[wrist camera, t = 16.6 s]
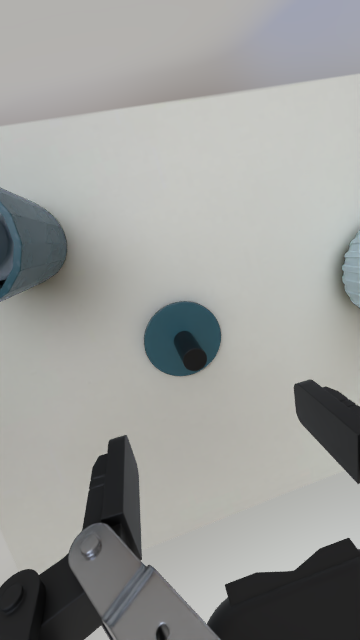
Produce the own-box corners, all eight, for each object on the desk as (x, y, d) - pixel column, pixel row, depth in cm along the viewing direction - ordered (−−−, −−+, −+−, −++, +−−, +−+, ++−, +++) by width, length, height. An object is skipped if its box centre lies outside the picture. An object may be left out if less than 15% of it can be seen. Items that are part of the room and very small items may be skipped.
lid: (153, 379, 30) (159, 412, 24) (135, 310, 28) (137, 328, 22) (222, 360, 31) (244, 387, 25) (211, 292, 29) (232, 304, 23)
